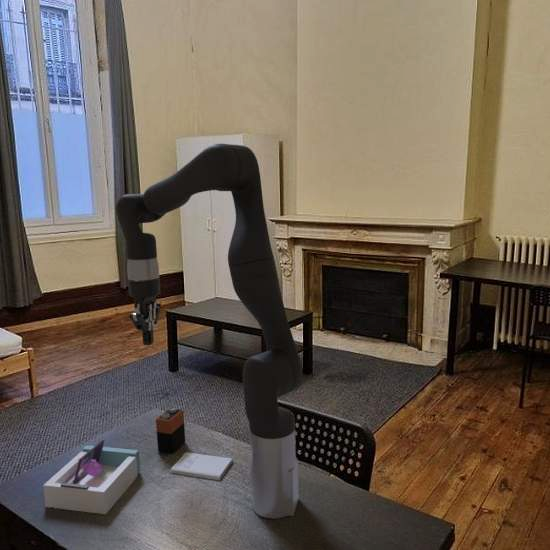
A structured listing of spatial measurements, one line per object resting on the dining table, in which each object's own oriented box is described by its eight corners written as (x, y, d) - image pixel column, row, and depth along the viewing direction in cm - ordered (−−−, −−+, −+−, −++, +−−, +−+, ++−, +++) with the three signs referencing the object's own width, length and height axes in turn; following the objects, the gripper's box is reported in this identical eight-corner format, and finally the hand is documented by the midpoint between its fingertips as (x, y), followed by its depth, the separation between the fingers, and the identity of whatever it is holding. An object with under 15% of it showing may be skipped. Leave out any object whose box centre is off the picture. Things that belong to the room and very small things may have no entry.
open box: (137, 476, 120) (135, 455, 119) (105, 514, 107) (103, 490, 106) (83, 470, 123) (81, 449, 122) (45, 506, 110) (42, 483, 109)
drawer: (140, 470, 122) (138, 450, 121) (108, 507, 108) (106, 484, 107) (88, 465, 125) (86, 445, 124) (51, 500, 111) (48, 478, 110)
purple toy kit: (100, 437, 121) (76, 457, 112) (119, 447, 120) (97, 467, 111) (94, 461, 123) (70, 482, 114) (113, 470, 122) (90, 493, 113)
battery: (186, 442, 135) (184, 406, 133) (172, 455, 129) (169, 417, 127) (171, 439, 137) (169, 404, 135) (157, 452, 131) (154, 415, 129)
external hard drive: (219, 482, 118) (170, 474, 121) (233, 464, 126) (186, 457, 129) (219, 476, 118) (170, 468, 121) (232, 457, 125) (186, 451, 129)
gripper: (141, 271, 134) (146, 335, 137) (116, 281, 121) (121, 352, 125) (168, 271, 133) (173, 337, 136) (145, 281, 120) (150, 353, 123)
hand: (148, 344), depth 130 cm, fingers closed
